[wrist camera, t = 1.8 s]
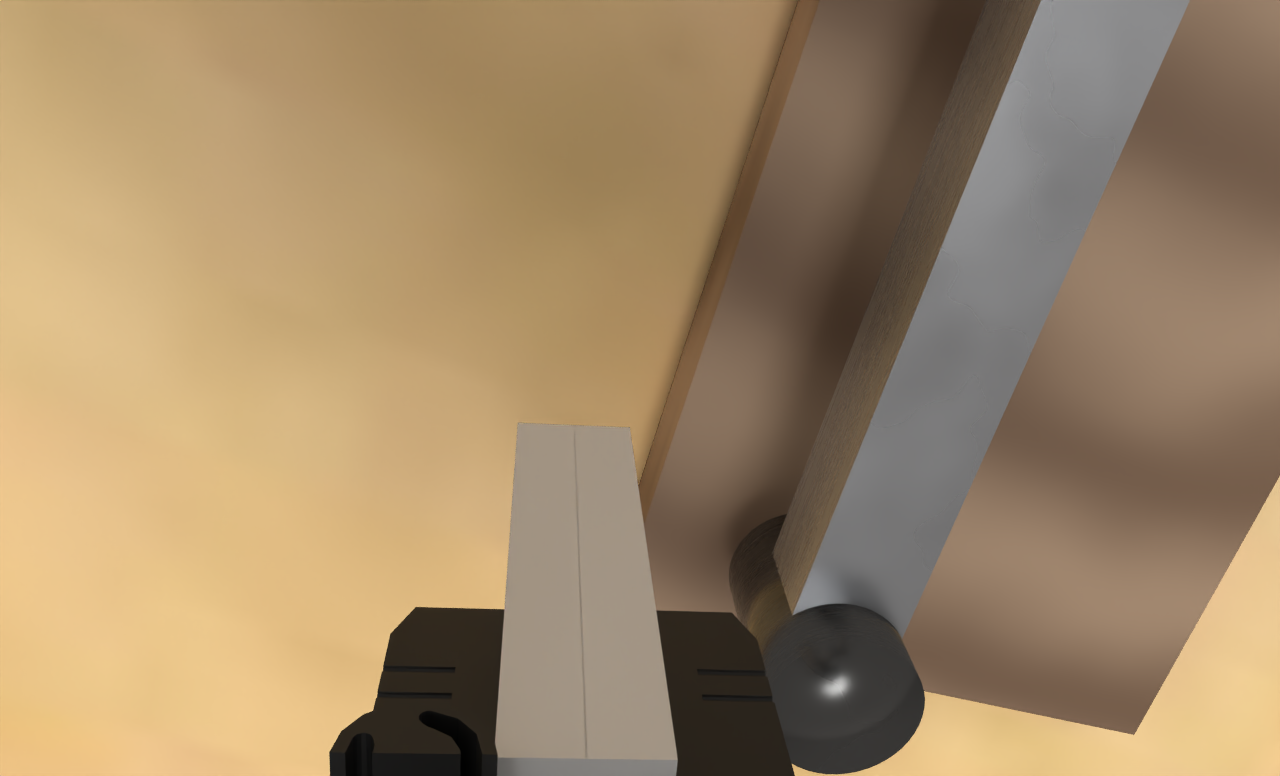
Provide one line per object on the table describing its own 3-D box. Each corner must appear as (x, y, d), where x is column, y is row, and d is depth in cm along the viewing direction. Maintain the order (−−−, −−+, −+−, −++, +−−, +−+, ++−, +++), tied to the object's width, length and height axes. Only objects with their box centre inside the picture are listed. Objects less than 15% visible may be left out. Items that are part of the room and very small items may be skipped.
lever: (1155, -735, 18) (1357, -946, 14) (1439, -607, 19) (1720, -764, 14) (675, 605, 27) (698, 750, 23) (881, 650, 28) (943, 796, 24)
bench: (1123, -988, 19) (1344, -1331, 14) (1821, -645, 22) (2242, -822, 17) (606, 582, 31) (617, 731, 26) (1102, 688, 34) (1208, 844, 28)
